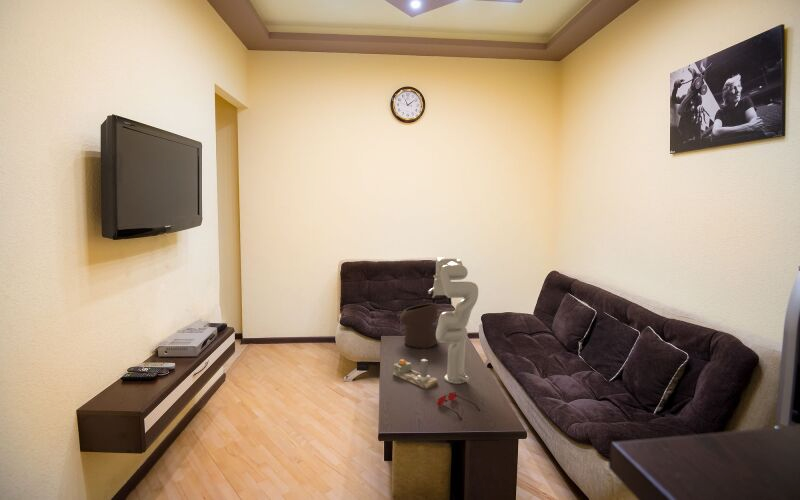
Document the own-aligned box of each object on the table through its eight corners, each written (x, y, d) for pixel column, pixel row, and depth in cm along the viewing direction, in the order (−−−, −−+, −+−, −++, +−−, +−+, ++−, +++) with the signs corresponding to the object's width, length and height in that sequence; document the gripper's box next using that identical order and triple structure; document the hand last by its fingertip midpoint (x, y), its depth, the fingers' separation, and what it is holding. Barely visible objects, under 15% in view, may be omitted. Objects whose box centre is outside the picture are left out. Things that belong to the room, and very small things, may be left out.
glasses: (454, 399, 208) (455, 389, 207) (480, 411, 195) (480, 401, 195) (435, 407, 199) (435, 397, 198) (461, 421, 186) (461, 410, 186)
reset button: (406, 365, 237) (406, 360, 236) (402, 367, 234) (402, 362, 234) (402, 363, 239) (402, 359, 239) (398, 365, 237) (398, 360, 237)
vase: (437, 337, 305) (438, 298, 302) (436, 349, 278) (437, 307, 275) (401, 335, 308) (402, 297, 304) (397, 348, 281) (398, 305, 278)
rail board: (437, 384, 224) (437, 373, 223) (426, 388, 218) (426, 378, 217) (404, 370, 243) (404, 360, 242) (393, 374, 236) (393, 364, 236)
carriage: (430, 380, 225) (430, 360, 224) (423, 383, 221) (424, 362, 220) (423, 377, 229) (423, 357, 227) (417, 380, 225) (417, 360, 224)
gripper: (429, 278, 251) (428, 305, 253) (456, 277, 253) (455, 304, 255) (427, 276, 258) (426, 302, 260) (453, 275, 261) (452, 301, 262)
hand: (441, 303), depth 257 cm, fingers open, 9 cm apart
